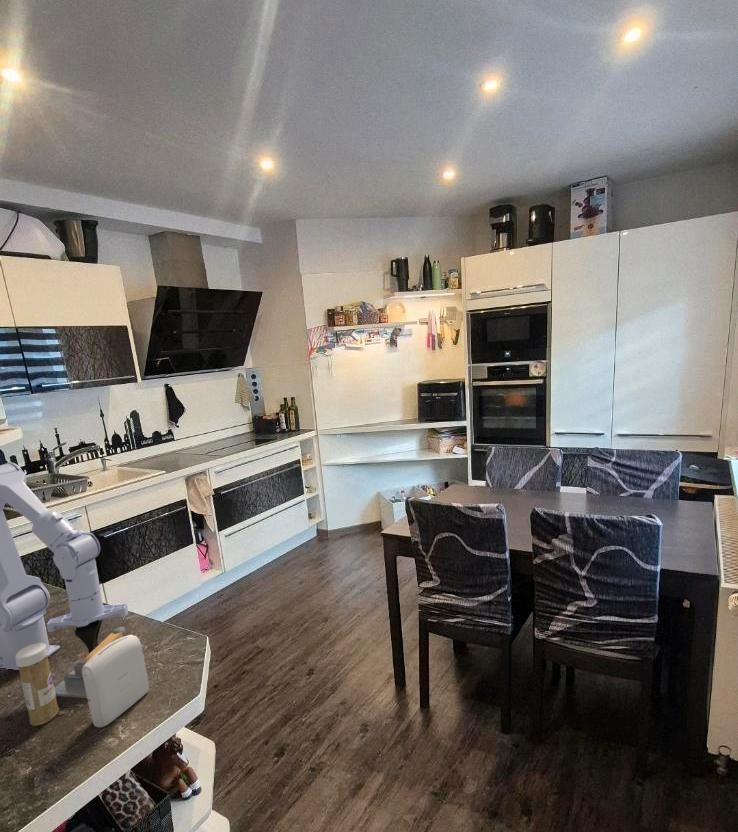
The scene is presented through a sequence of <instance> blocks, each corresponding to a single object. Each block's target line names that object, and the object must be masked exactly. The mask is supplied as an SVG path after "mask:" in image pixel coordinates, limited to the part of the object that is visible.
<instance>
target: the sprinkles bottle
mask: <svg viewBox="0 0 738 832" xmlns="http://www.w3.org/2000/svg"><path fill="white" fill-rule="evenodd" d="M47 654H48V651H47V646H46V644H45V643H35V644H32V645H29V646H27V647H25V648H23V649H21V650H20V651H19V652H18V653H17V654H16V656H15V658H16V664H17V666H18V668H19V670H18V671H19V675H20V679H21V680H20V682H21V686H22V692H23V696H24V701H25V706H26V708H27V712H28V717H29V724H30V725H31V726H36V727H37V726H41V725H44V724H46V723H48V722H50V721H51V720H53V719H54V718H56V716H57V715H58V714H59V711H60V707H59V705H58V701H57V696H55V695H56V693H55V684H54V681H53V680H54V679H53V675H52V671H51V668H50V662H49V658H48V657H49V656H48V655H47ZM47 656H48V657H47Z"/></svg>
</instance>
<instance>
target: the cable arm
mask: <svg viewBox="0 0 738 832" xmlns="http://www.w3.org/2000/svg"><path fill="white" fill-rule="evenodd" d="M124 636H127V633H126V628H125V626H119V627H116V628H114V629H113V630H112V632H111V633H110V634H108V636H106V638H104V639H103V640H102V641H101V642H100V643H98V646H97V647H96V648H95V649H94V650H93V651H92V652H91V653H90V654H89V653H88V655H86V656H85V657H84V658H83V659H82V660H81V661H80V662H78V663H77V664H76V665H75V666H73V669H74V671H75V676H76V677H79V676H82V668H83V666H84V665H85V664H86V663H87V661H88V660H89V659H90V658H91V657H92V656H94V655H95V654H96V653H97V652H98V651H100V650H101V649H102V648H104V647H105V646H107V645H108V644H110V643H111V642H113V641H115V640H117V639H119V638H122V637H124Z"/></svg>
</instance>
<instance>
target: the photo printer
mask: <svg viewBox="0 0 738 832" xmlns="http://www.w3.org/2000/svg"><path fill="white" fill-rule="evenodd" d="M141 645H142V644H141V641H140V638H139V637H138V636H136V635H133V634H128V635H126V636H124V637H122V638H119V639H117V640H115V641H113V642H111V643H110V644H108V645H107V646H105V647H104V648H102V649H101V650H100V651H98V652H97V653H96V654H95V655H94V656H92V657H91V658H90V659H89V660H88V661H87V663H86V664H85V665H84V666H83V668H82V676H83V680H84V685H85V690H86V695H87V698H86V699H87V704H88V707H89V713H90V718H91V721H92V723H93V725H94V727H96V728H104V727H106V726H108V725H109V724H110V723H112V722H113V721H114V720H116V719H117V718H118V717H119V716H121V715H122V714H123V713H125V712H126V711H127V710H128V709H129V708H131V707H132V706H133V705H135V704H136V703H137V702H138V701H139V700H140V699H142V698H143V697H144V696H145V695H146V694H148V692H149V691H150V684H149V677H148V674H147V673H148V672H147V669H146V668H147V667H146V662H145V657H144V651H143V649H142V646H141Z"/></svg>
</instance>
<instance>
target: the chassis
mask: <svg viewBox="0 0 738 832" xmlns="http://www.w3.org/2000/svg"><path fill="white" fill-rule="evenodd" d="M141 646H142V650H143V649H144V648H145V644H141ZM54 688H55V693H56V695H55V696H56V697H62V698H63V697H65V698H79V699H87V695H86V690H85V685H84V680H83V676H79V677H76V676H75V671H74V668H73V669H72V670H70V672H68V673H67V674H66V675H64V676H63V680H62V681H61V682H60V683H58V684H57V685H56V686H54Z"/></svg>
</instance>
